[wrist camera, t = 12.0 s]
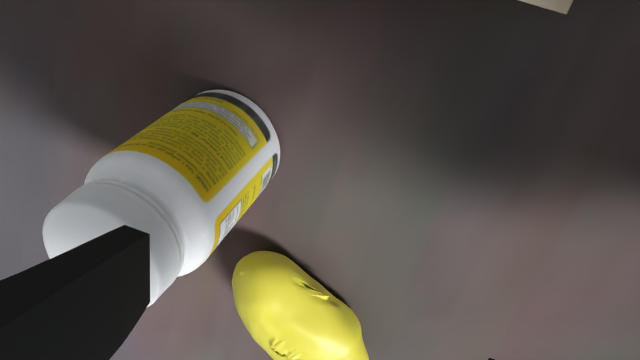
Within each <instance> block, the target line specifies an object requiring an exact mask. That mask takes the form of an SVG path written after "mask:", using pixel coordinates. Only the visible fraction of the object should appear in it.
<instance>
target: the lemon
mask: <svg viewBox="0 0 640 360" xmlns="http://www.w3.org/2000/svg"><path fill="white" fill-rule="evenodd" d="M232 286H233V295H234V301H235V305H236V308H237V311H238V313H239V315H240V317H241V319H242V321H243V323H244V325H245V326H246V328H247V330H248V331H249V333H250V334H251V336H252V337H253V339H254V340H255V341H256V342H257V343H258V344H259V345H260V346H261V347H262V348H263V349H264V350H265V351H266V352H267V353H268V354H269V355H270V356H271V357H272V358H273V359H274V360H369V357H368V354H367V351H366V348H365V345H364V342H363V339H362V331H361V325H360V322H359V320H358V318H357V316H356V315H355V313H354V312H353V311H352V310H351V309H350V308H349V307H348V306H347V305H346V304H344V303H343V302H342V301H340V300H339V299H337V298H336V297H334V296H333V295H332V294H331V293H330V292H329V291H327V290H326V289H325V288H324V287H323V286H322V285H321V284H320V283H318V282H317V281H316V280H314V279H313V278H312V277H310V276H309V275H308V274H307V273H306V272H304V271H303V270H302V269H301V268H300V267H299V266H298V265H297V264H295V263H294V262H293V261H292V260H291V259H289V258H288V257H286V256H284V255H282V254H279V253H276V252H271V251H256V252H252V253H250V254H248V255H247V256H244V257H243V258H242V259H241V260H240V261H239V262H238V263H237V264H236V267H235V270H234V273H233V279H232Z"/></svg>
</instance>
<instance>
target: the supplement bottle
mask: <svg viewBox="0 0 640 360" xmlns="http://www.w3.org/2000/svg"><path fill="white" fill-rule="evenodd" d="M279 161H280V145H279V140H278V137H277V134H276V132H275V129H274V127H273V125H272V124H271V122H270V120H269V119H268V117H267V116H266V114H265V113H264V112H263V111H262V110H261V108H259V107H258V106H257V105H256V104H255V103H254V102H252V101H251V100H249V99H248V98H246V97H244V96H242V95H240V94H238V93H235V92H232V91H227V90H208V91H204V92H201V93H199V94H196V95H194V96H192V97H190V98H189V99H187V100H186V101H184V102H183V103H182V104H180V105H179V106H177V107H176V108H175V109H173V110H172V111H170V112H169V113H167V114H165V115H164V116H162V117H161V118H160V119H158V120H157V121H155V122H154V123H152V124H151V125H149V126H148V127H146V128H145V129H143V130H142V131H140V132H139V133H138V134H136V135H135V136H133V137H132V138H130V139H129V140H127V141H126V142H124V143H123V144H121V145H120V146H118V147H117V148H115V149H114V150H112V151H111V152H109V153H108V154H106V155H105V156H103V157H102V158H101V159H100V160H98V161H97V162H96V163H95V164H94V166H93V167H92V168H91V169H90V171H89V173H88V175H87V177H86V179H85V183H84V185H83V186H82V187H80V188H78V189H76V190H75V191H74V192H73V193H72V194H71V195H69V196H68V197H67V198H65V199H64V200H63V201H62V202H60V203H59V204H58V205H57V206H55V207H54V208H53V209H52V210H51V211H50V212H49V213H48V215H47V217H46V219H45V221H44V225H43V240H44V245H45V248H46V250H47V253H48V255H49V258H50V259H51V258H53V257H56V256H58V255H60V254H62V253H64V252H66V251H69V250H71V249H73V248H75V247H77V246H79V245H81V244H84V243H86V242H88V241H90V240H92V239H94V238H96V237H98V236H101V235H103V234H105V233H107V232H109V231H112V230H114V229H116V228H118V227H121V226H123V225H127V226H129V227H132V228H135V229H138V230H140V231H143V232H146V233H149V234H150V303H149V305H148V306H147V307H149V306H150V305H152V304H153V303H154V302H155V301H156V300H157V299H158V298H159V297H160V295H161V294H162V293H163V292H164V291H165V290H166V289H167V288H168V287H169V286H170V285H171V284H172V283H173V282H174V281H175V279H176V277H178V276H182V275H185V274H188V273H190V272H192V271H194V270H195V269H196V268H198V267H199V266H200V265H201V264H202V263H203V262H205V261H206V260H207V258H208V257H209V256H210V254H211V253H212V252H213V251H214V250H215V248H216V247H217V246H218V245H219V243H220V242H221V241H222V240H223V239H224V237H225V236H226V235H227V234H228V232H229V231H230V230H231V229H232V227H233V226H234V225H235V224H236V223H237V221H238V220H239V219H240V218H241V217H242V215H243V214H244V213H245V212H246V211H247V209H248V208H249V207H250V206H251V204H252V203H253V202H254V201H255V200H256V198H257V197H258V196H259V195H260V193H261V192H262V191H263V190H264V188H265V187H266V186H267V185H268V184H269V182H270V181H271V180H272V178H273V177H274V175H275V173H276V171H277V169H278V166H279Z"/></svg>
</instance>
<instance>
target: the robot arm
mask: <svg viewBox="0 0 640 360" xmlns="http://www.w3.org/2000/svg"><path fill="white" fill-rule="evenodd" d="M149 303H150V234H149V233H146V232H143V231H140V230H138V229H135V228H132V227H129V226H127V225H123V226H121V227H118V228H116V229H114V230H112V231H109V232H107V233H105V234H103V235H101V236H98V237H96V238H94V239H92V240H90V241H88V242H86V243H84V244H81V245H79V246H77V247H75V248H73V249H71V250H69V251H66V252H64V253H62V254H60V255H58V256H56V257H53V258H51V259H49V260H47V261H44V262H42V263H40V264H38V265H36V266H33V267H31V268H29V269H27V270H25V271H22V272H20V273H18V274H15V275H13V276H10V277H8V278H6V279H3V280H1V281H0V360H109V359H110V358H111V357H112V356H113V354H114V353H115V352H116V351H117V350H118V348H119V347H120V346H121V345H122V344H123V342H124V341H125V339H126V338H127V337H128V335H129V334H130V332H131V331H132V329H133V328H134V326H135V325H136V323H137V322H138V320H139V319H140V317H141V316H142V314H143V313H144V311H145V309H146V308H147V306H148V305H149ZM488 360H494V359H491V358H489V359H488Z"/></svg>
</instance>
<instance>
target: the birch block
mask: <svg viewBox="0 0 640 360" xmlns="http://www.w3.org/2000/svg"><path fill="white" fill-rule="evenodd" d="M519 1H522V2H526V3H529V4H532V5H536V6H539V7H543V8H546V9H549V10H553V11H556V12H559V13H563V14H567V12H568V10H569V8H570V6H571V4H572V2H573V0H519Z"/></svg>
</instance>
